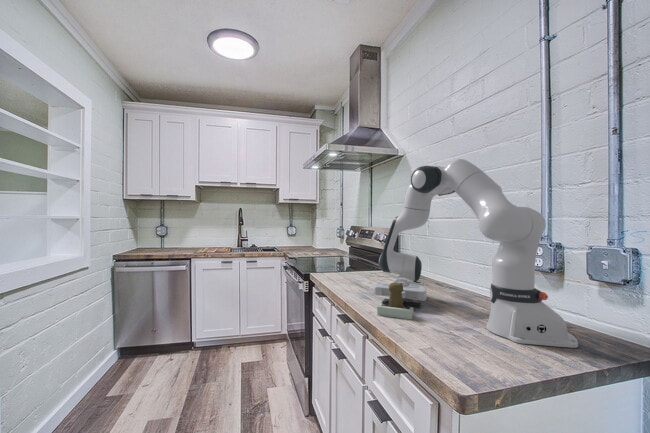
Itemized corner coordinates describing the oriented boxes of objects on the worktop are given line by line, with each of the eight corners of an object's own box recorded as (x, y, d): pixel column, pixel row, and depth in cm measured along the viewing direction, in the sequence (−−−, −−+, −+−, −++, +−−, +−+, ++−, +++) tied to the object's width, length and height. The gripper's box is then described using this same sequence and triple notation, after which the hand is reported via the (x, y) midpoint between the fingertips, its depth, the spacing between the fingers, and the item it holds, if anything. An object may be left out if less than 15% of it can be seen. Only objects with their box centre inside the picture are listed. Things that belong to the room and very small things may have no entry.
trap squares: (421, 303, 120) (421, 302, 120) (419, 308, 113) (419, 307, 113) (384, 299, 125) (384, 298, 125) (381, 303, 119) (381, 302, 119)
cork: (402, 310, 110) (402, 281, 110) (405, 315, 104) (405, 285, 104) (386, 310, 111) (386, 281, 111) (388, 315, 105) (388, 284, 105)
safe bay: (413, 315, 105) (413, 307, 105) (411, 319, 100) (411, 310, 100) (379, 311, 109) (379, 303, 109) (377, 314, 105) (377, 306, 105)
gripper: (377, 278, 126) (370, 285, 113) (427, 283, 118) (425, 290, 105) (377, 293, 126) (369, 301, 113) (427, 298, 118) (425, 308, 105)
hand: (397, 296), depth 109 cm, fingers closed, pressing on cork
